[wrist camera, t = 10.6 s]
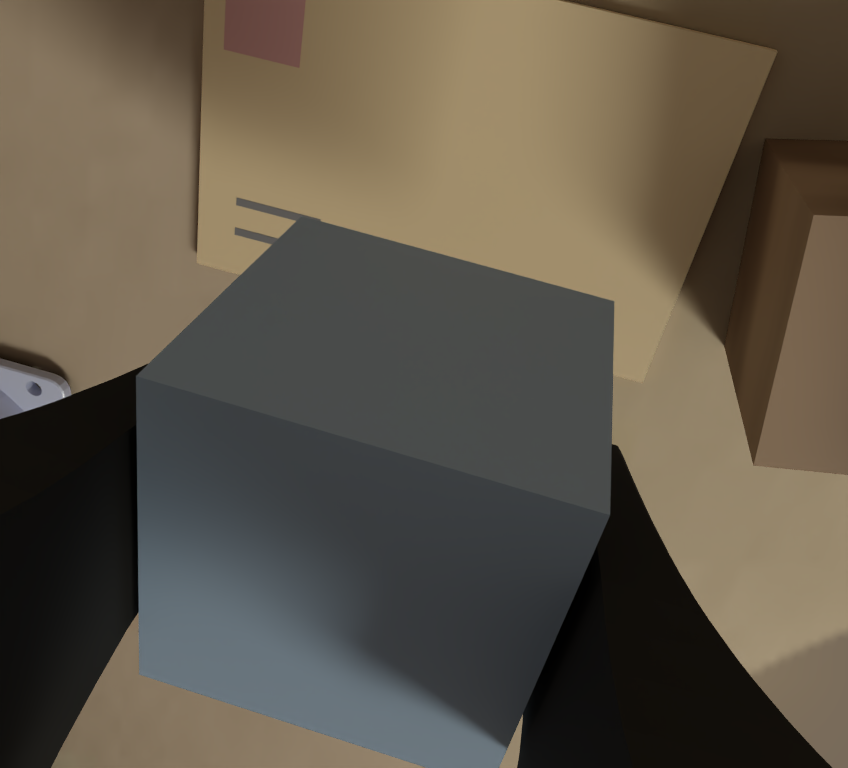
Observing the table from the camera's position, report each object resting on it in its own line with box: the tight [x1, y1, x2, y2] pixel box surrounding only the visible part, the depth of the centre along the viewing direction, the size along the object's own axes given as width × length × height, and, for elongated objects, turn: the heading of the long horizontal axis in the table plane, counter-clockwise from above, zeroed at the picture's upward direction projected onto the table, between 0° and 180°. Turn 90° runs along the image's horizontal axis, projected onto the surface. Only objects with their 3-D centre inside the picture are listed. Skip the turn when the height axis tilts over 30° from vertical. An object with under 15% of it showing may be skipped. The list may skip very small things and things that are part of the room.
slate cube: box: [136, 216, 615, 768], centre depth 11 cm, size 5×5×5 cm
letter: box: [197, 0, 778, 383], centre depth 18 cm, size 12×8×1 cm, turn 80°
